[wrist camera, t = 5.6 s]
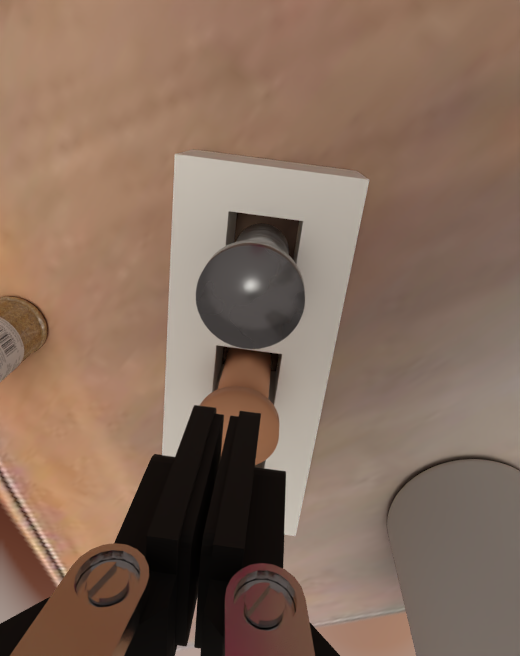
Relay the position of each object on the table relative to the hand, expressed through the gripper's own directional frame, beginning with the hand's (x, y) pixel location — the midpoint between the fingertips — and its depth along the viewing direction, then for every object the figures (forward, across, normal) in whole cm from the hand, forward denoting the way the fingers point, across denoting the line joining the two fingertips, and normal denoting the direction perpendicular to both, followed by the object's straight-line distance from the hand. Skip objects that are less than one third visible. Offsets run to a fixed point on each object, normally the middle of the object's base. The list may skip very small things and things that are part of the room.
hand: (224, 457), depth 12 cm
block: (+21, 0, +7) cm, 22 cm away
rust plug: (+18, 0, +7) cm, 19 cm away
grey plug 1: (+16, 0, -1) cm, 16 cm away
